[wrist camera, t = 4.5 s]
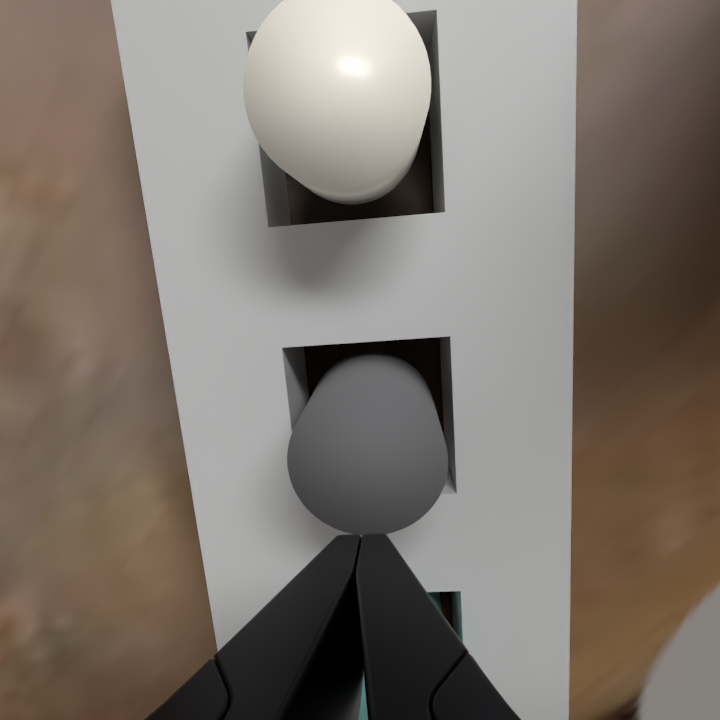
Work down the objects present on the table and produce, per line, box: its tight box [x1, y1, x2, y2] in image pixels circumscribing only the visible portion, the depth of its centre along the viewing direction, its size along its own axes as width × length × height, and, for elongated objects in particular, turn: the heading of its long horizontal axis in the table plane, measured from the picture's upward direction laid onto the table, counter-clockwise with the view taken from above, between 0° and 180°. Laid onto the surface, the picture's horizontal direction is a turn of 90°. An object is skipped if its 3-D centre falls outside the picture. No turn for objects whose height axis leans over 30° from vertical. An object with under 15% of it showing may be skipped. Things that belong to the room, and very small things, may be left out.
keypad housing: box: [111, 0, 577, 720], centre depth 17 cm, size 12×26×4 cm, turn 5°
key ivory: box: [243, 0, 431, 205], centre depth 12 cm, size 4×4×4 cm
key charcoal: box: [287, 352, 448, 536], centre depth 14 cm, size 4×4×4 cm
